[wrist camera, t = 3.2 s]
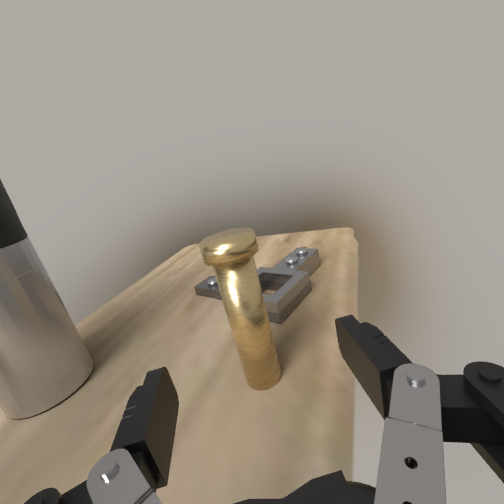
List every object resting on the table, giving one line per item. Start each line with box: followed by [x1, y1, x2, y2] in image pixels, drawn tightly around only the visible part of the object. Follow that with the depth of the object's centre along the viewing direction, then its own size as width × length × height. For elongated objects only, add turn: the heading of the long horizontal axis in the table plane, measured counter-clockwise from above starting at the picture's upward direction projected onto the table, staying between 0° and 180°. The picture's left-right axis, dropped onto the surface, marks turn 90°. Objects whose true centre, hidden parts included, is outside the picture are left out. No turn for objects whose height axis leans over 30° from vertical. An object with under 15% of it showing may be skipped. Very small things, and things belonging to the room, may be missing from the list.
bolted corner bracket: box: [194, 247, 320, 324], centre depth 46 cm, size 18×16×4 cm
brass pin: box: [199, 228, 281, 390], centre depth 25 cm, size 5×5×14 cm
